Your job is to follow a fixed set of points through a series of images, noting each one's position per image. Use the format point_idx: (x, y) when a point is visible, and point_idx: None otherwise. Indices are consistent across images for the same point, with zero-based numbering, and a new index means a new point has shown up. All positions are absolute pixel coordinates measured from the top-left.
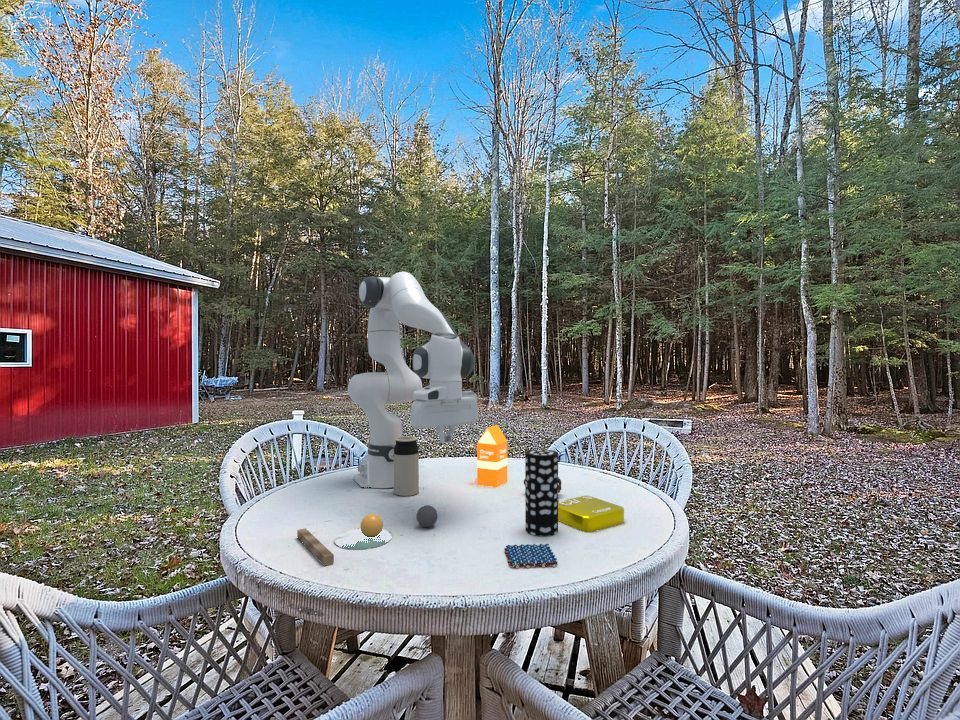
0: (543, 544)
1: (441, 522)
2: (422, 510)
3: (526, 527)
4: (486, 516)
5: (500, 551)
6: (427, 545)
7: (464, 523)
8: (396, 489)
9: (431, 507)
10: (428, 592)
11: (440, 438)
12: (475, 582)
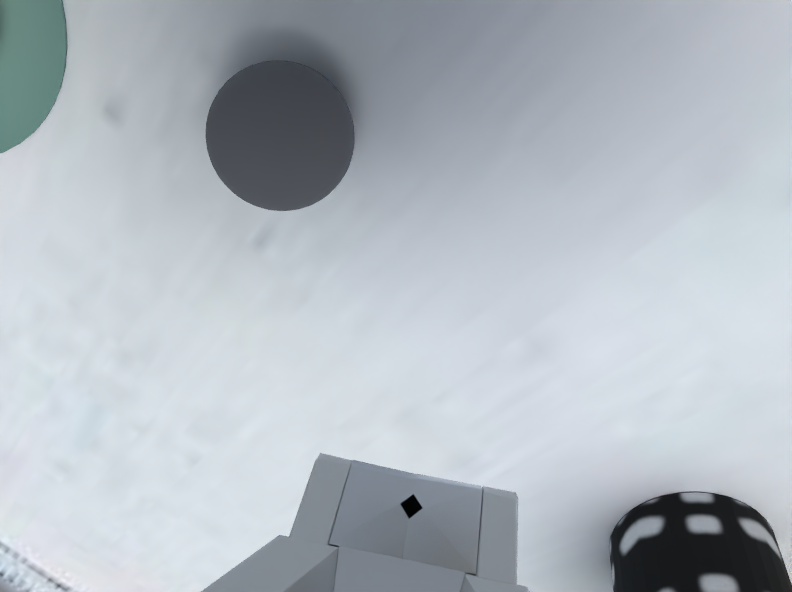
0: None
1: (417, 119)
2: (216, 166)
3: (628, 531)
4: (709, 249)
5: None
6: (164, 309)
7: (508, 235)
8: None
9: (280, 191)
10: (6, 536)
11: (300, 515)
12: (151, 586)
